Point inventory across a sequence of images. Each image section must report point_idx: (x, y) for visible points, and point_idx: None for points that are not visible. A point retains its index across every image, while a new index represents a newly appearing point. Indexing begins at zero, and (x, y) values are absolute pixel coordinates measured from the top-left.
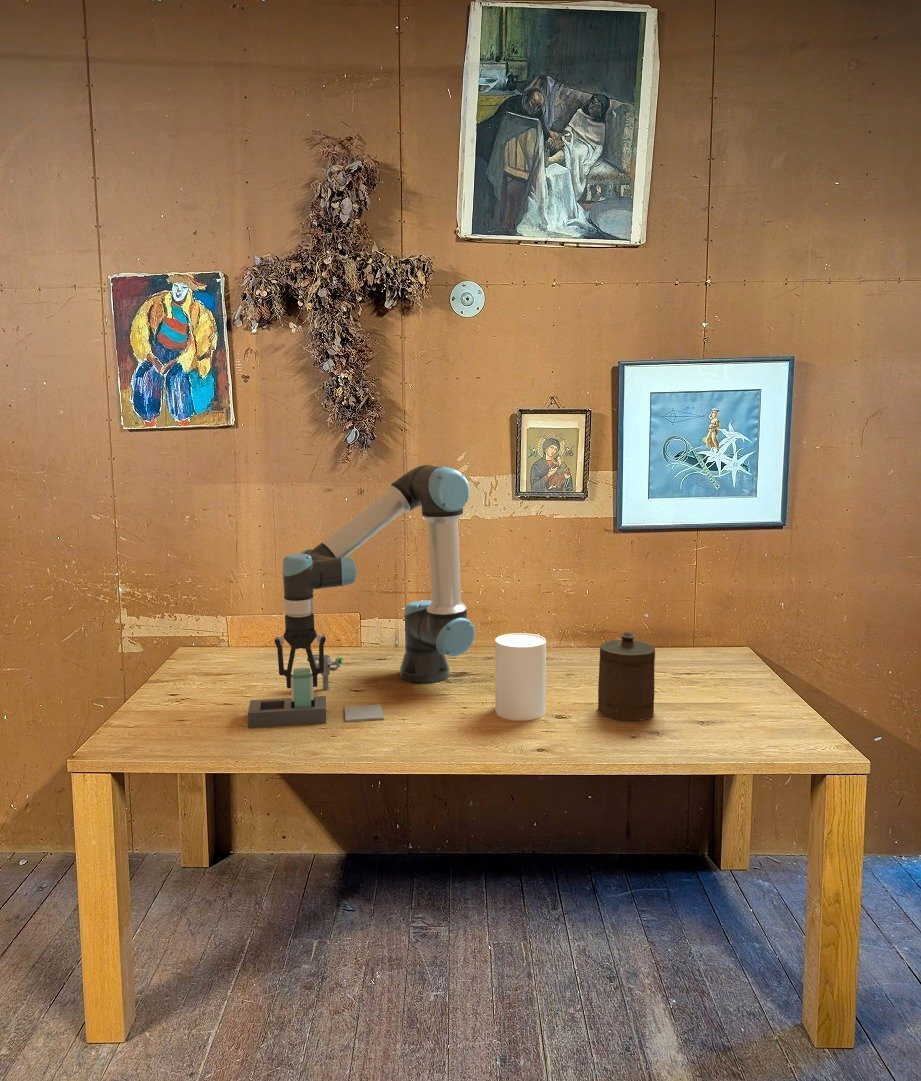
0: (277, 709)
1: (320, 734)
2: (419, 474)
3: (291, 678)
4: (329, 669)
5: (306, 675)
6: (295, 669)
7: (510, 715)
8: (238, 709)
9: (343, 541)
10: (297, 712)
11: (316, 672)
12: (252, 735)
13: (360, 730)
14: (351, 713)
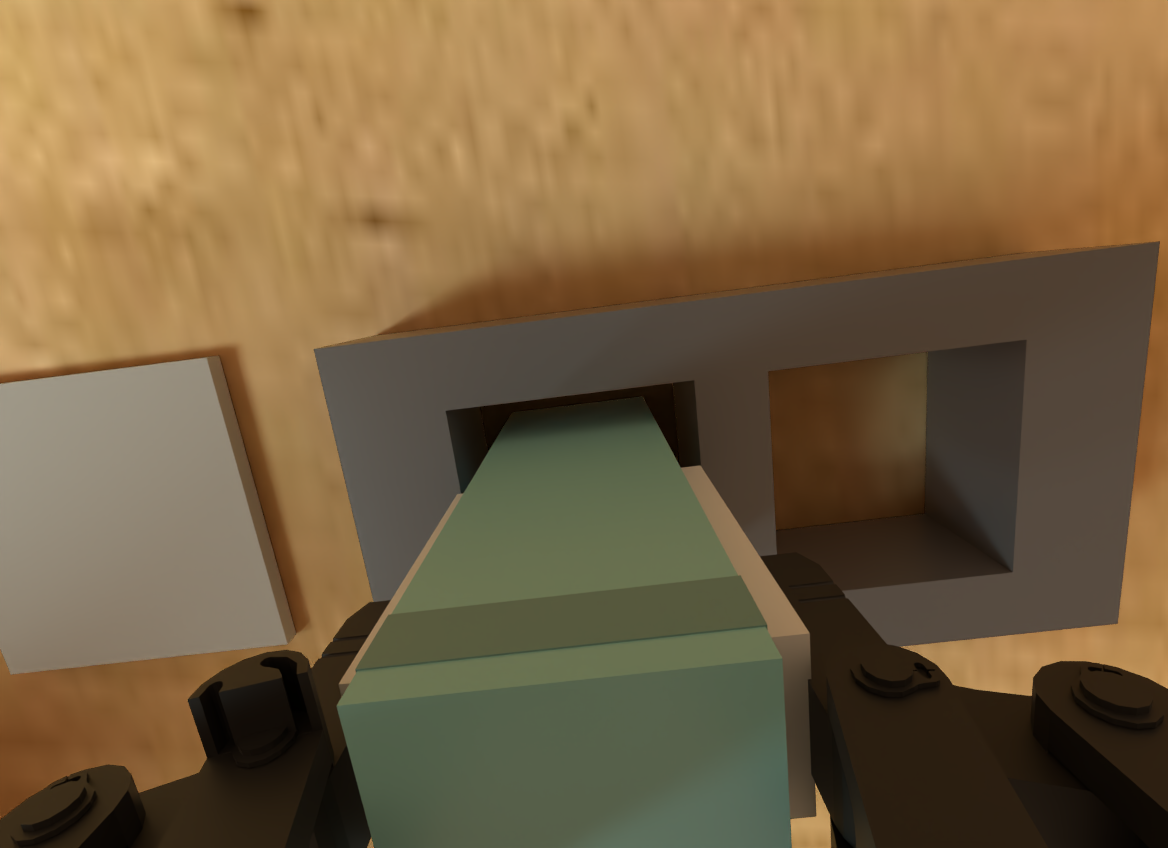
0: (833, 347)
1: (372, 65)
2: None
3: (786, 622)
4: None
5: (441, 644)
6: None
7: None
8: (1108, 657)
9: None
10: (612, 309)
11: (209, 772)
12: (983, 68)
13: (38, 151)
14: (193, 499)
